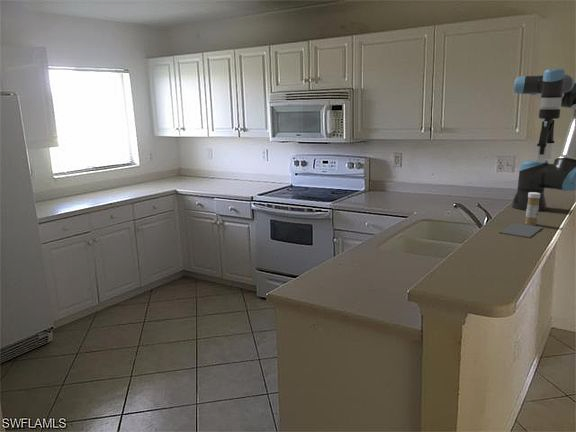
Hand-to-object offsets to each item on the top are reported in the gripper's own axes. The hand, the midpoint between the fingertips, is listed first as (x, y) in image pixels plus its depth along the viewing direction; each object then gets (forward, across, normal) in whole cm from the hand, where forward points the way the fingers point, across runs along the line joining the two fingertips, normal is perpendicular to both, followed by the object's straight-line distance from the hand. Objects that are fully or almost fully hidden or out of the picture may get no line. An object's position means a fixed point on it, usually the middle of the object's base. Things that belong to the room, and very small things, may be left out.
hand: (543, 160), depth 201 cm
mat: (+26, +21, -2) cm, 33 cm away
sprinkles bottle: (+26, +8, -1) cm, 27 cm away
